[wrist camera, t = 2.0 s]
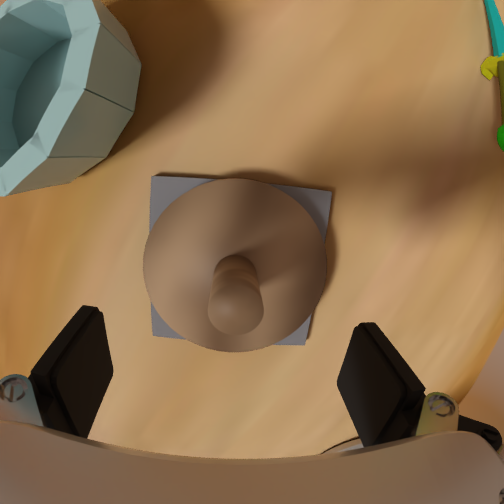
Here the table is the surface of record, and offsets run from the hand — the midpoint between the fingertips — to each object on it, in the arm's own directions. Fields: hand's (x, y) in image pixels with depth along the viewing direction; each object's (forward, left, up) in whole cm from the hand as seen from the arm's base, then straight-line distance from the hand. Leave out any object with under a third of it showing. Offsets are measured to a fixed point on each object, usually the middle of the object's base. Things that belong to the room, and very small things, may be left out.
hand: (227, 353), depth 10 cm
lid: (0, +1, -10) cm, 10 cm away
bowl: (+14, -11, -11) cm, 21 cm away
